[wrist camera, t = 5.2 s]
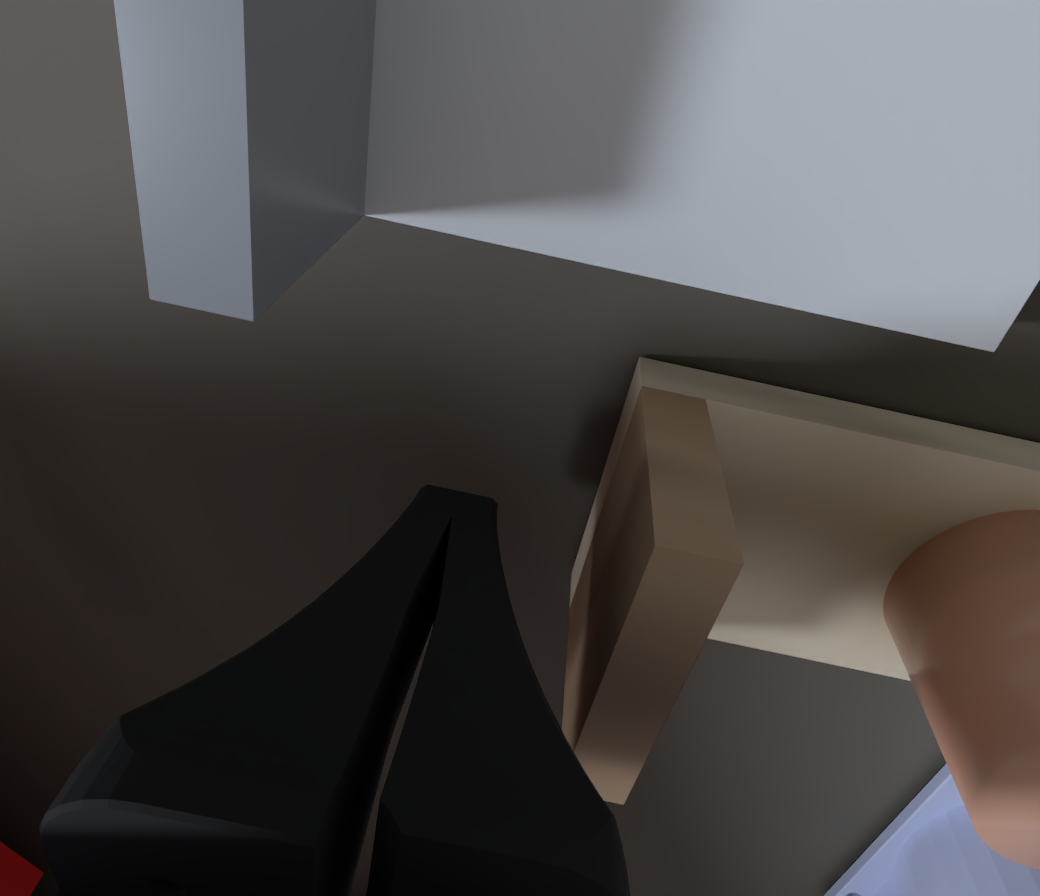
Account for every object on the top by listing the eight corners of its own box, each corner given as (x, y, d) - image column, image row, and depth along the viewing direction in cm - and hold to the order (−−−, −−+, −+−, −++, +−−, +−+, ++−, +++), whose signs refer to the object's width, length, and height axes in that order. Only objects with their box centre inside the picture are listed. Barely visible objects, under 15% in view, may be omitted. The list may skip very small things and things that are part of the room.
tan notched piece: (1045, 672, 17) (1204, 923, 13) (571, 572, 17) (558, 791, 13) (1225, 483, 14) (1529, 730, 9) (639, 356, 14) (654, 545, 9)
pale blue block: (964, 323, 13) (1164, 517, 8) (317, 182, 13) (149, 299, 8) (1201, -80, 10) (1765, -138, 5) (327, -281, 9) (49, -540, 5)
